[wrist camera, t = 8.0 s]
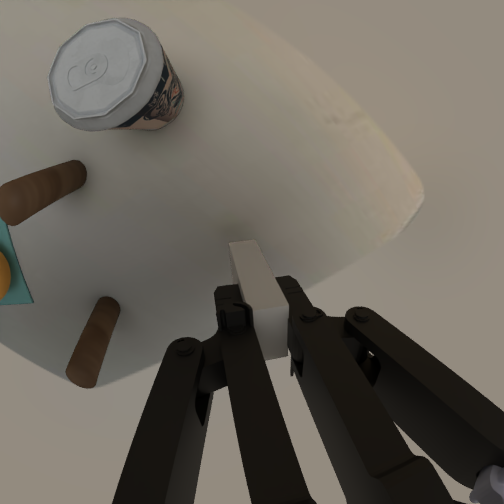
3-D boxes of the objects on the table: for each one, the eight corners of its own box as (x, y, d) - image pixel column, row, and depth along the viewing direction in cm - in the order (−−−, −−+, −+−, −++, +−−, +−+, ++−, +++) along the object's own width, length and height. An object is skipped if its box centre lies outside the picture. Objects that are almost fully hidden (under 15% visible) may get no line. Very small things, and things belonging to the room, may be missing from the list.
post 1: (64, 191, 19) (2, 229, 11) (60, 163, 18) (-8, 188, 10) (88, 186, 19) (30, 221, 11) (84, 157, 18) (21, 177, 10)
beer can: (191, 118, 19) (173, 101, 8) (131, 139, 19) (53, 153, 8) (176, 61, 17) (145, -10, 6) (115, 83, 17) (32, 46, 6)
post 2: (101, 318, 24) (74, 387, 16) (93, 297, 23) (60, 365, 15) (123, 316, 25) (101, 389, 16) (116, 295, 24) (87, 366, 15)
